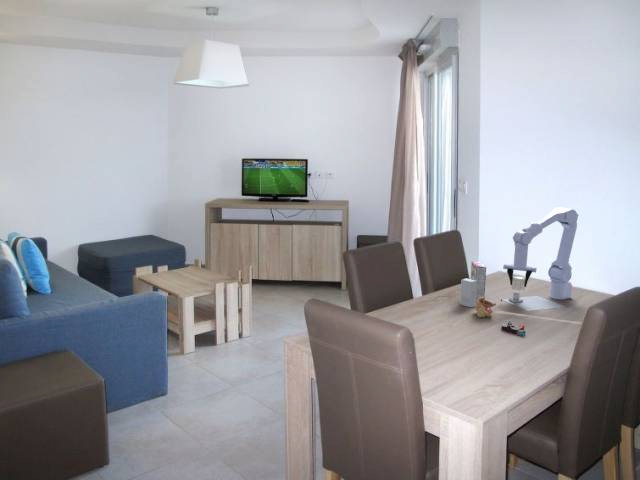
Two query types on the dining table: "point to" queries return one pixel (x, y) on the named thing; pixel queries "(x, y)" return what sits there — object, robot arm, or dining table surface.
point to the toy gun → (513, 329)
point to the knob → (518, 283)
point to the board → (534, 303)
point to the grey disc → (516, 298)
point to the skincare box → (468, 292)
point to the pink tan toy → (483, 307)
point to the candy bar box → (479, 277)
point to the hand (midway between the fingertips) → (518, 285)
